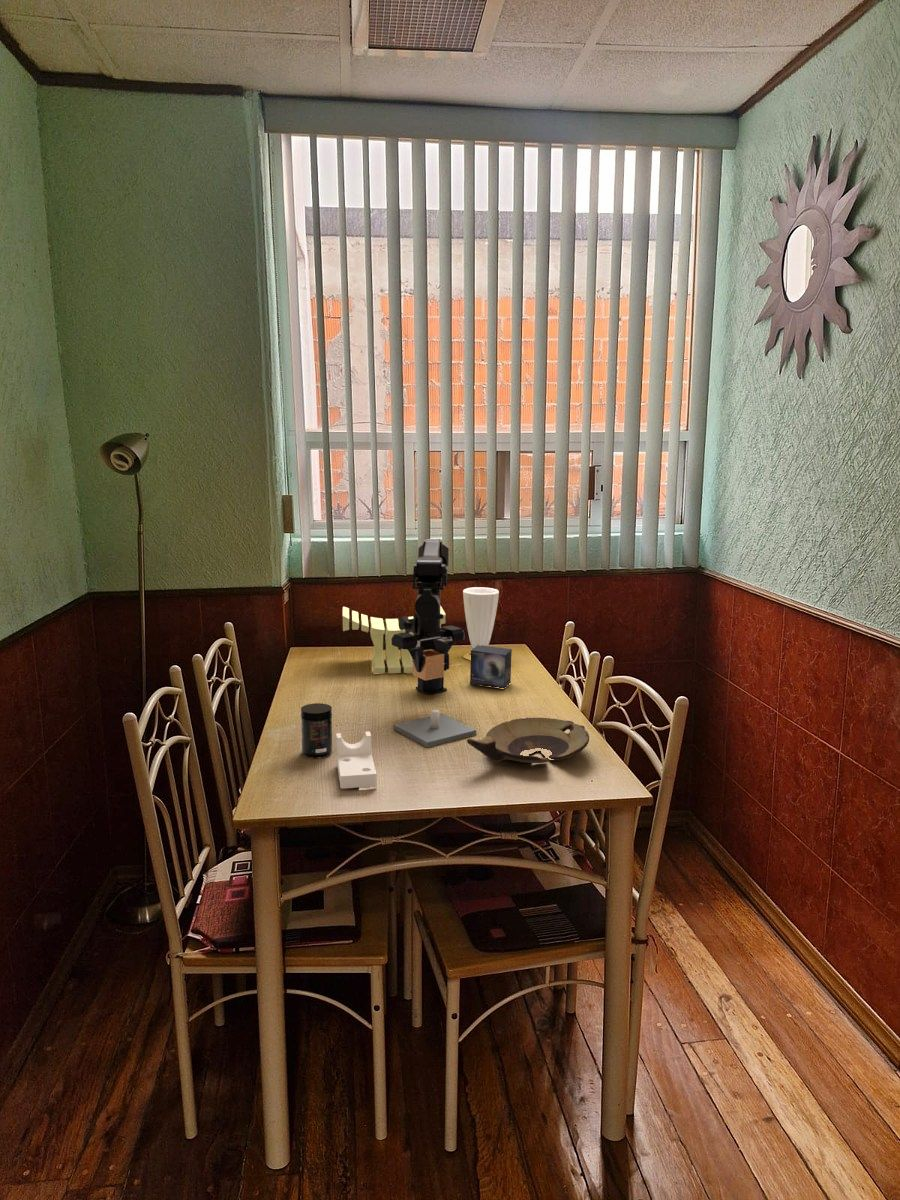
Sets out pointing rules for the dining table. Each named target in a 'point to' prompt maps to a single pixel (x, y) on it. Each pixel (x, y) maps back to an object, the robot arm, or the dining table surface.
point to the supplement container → (316, 730)
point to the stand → (434, 729)
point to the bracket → (355, 763)
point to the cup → (480, 613)
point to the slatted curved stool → (377, 638)
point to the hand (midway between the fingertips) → (428, 670)
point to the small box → (490, 666)
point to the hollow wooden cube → (430, 665)
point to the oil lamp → (532, 739)
